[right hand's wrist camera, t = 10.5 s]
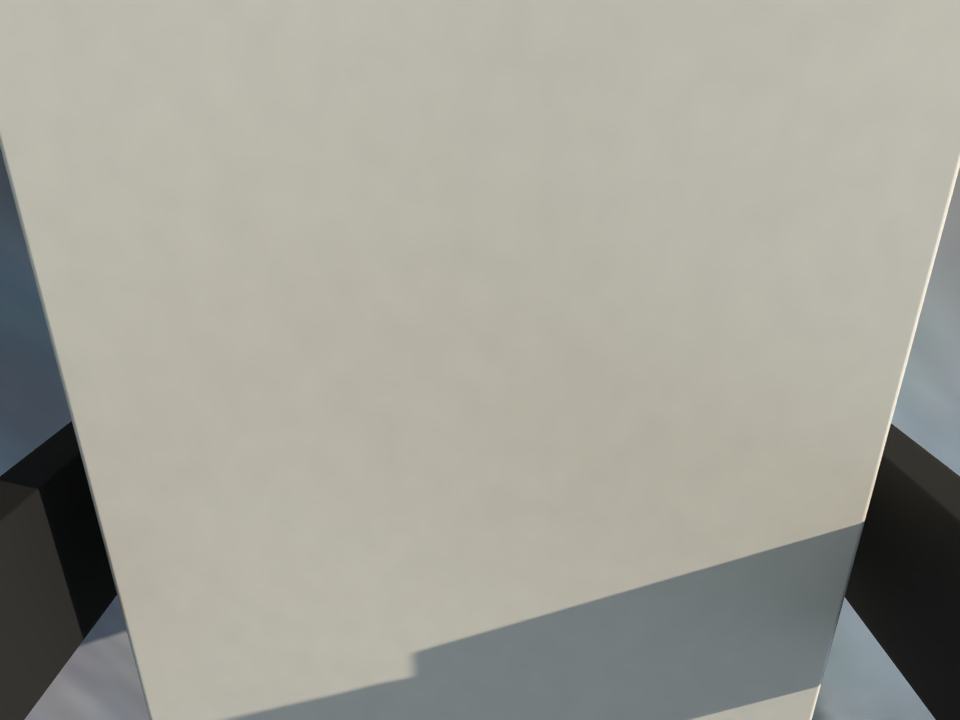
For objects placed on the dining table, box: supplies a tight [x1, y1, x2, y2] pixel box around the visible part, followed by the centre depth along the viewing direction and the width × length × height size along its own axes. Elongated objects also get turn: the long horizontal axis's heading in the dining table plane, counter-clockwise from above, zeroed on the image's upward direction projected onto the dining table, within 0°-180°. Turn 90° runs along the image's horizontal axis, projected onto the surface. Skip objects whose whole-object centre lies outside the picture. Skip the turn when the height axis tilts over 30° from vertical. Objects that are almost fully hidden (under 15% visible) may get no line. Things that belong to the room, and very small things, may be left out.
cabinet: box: [0, 0, 960, 720], centre depth 10 cm, size 21×10×8 cm, turn 0°
